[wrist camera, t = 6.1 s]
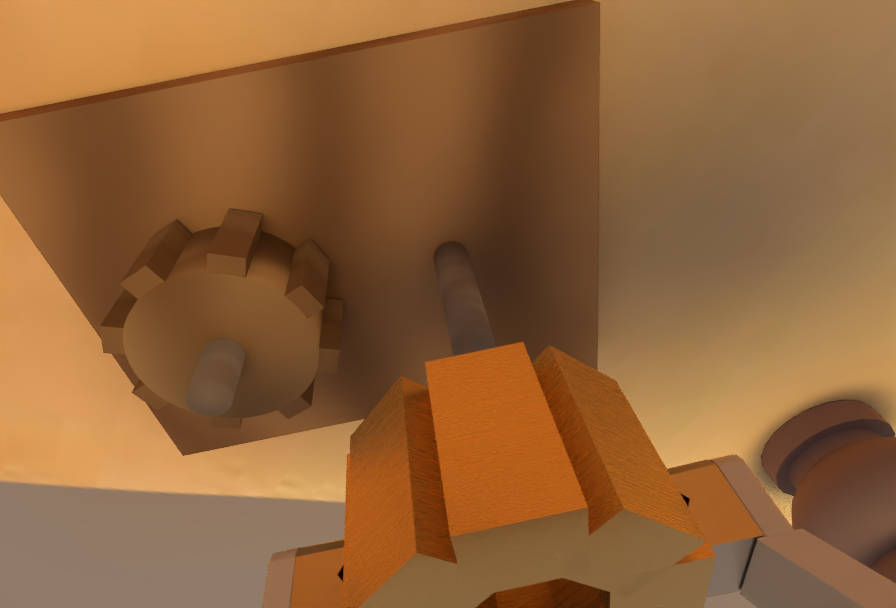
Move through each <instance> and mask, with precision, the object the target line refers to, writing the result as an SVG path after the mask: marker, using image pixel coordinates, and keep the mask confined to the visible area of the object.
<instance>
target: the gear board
mask: <svg viewBox="0 0 896 608" xmlns="http://www.w3.org/2000/svg"><path fill="white" fill-rule="evenodd" d="M599 53H600V3H599V2H596V1H593V0H574V1H569V2H564V3H559V4H554V5H549V6H544V7H538V8H533V9H528V10H523V11H518V12H513V13H508V14H503V15H498V16H493V17H488V18H483V19H478V20H473V21H468V22H463V23H458V24H453V25H448V26H443V27H438V28H433V29H428V30H423V31H418V32H412V33H407V34H402V35H397V36H392V37H387V38H382V39H377V40H372V41H367V42H362V43H357V44H352V45H347V46H342V47H337V48H332V49H327V50H322V51H317V52H312V53H307V54H302V55H297V56H292V57H287V58H281V59H276V60H271V61H266V62H261V63H256V64H251V65H246V66H241V67H236V68H231V69H226V70H221V71H216V72H211V73H206V74H201V75H196V76H191V77H186V78H181V79H176V80H171V81H166V82H161V83H156V84H150V85H145V86H140V87H135V88H130V89H125V90H120V91H115V92H110V93H105V94H100V95H95V96H90V97H85V98H80V99H75V100H70V101H65V102H60V103H55V104H50V105H45V106H40V107H35V108H30V109H24V110H19V111H14V112H9V113H4V114H0V195H1V197H2V198H3V200H4V201H5V202H6V204H7V205H8V207H9V208H10V210H11V211H12V212H13V214H14V215H15V217H16V218H17V220H18V221H19V222H20V224H21V225H22V227H23V228H24V230H25V231H26V232H27V234H28V235H29V237H30V238H31V240H32V241H33V242H34V244H35V245H36V247H37V248H38V250H39V251H40V252H41V254H42V255H43V257H44V258H45V260H46V261H47V262H48V264H49V265H50V267H51V268H52V270H53V271H54V272H55V274H56V275H57V277H58V278H59V279H60V281H61V282H62V284H63V285H64V287H65V288H66V289H67V291H68V292H69V294H70V295H71V297H72V298H73V299H74V301H75V302H76V304H77V305H78V307H79V308H80V309H81V311H82V312H83V314H84V315H85V317H86V318H87V319H88V321H89V322H90V324H91V325H92V327H93V328H94V329H95V331H96V332H97V334H98V335H99V337H100V338H101V339H102V346H103V353H111V354H112V355H113V357H114V358H115V359H116V361H117V362H118V364H119V365H120V367H121V368H122V369H123V371H124V372H125V374H126V375H127V377H128V378H129V379H130V381H131V382H132V384H133V385H134V386H135V388H134V389H133V391H132V393H133V394H135V395H136V396H138V397H139V398H140V399H142V400H143V401H145V402H146V404H147V405H148V406H149V408H150V409H151V411H152V412H153V414H154V415H155V416H156V418H157V419H158V421H159V422H160V424H161V425H162V426H163V428H164V429H165V431H166V432H167V434H168V435H169V436H170V438H171V439H172V441H173V442H174V444H175V445H176V446H177V448H178V449H179V451H180V452H181V454H182V455H183V456H184V455H189V454H194V453H199V452H204V451H209V450H214V449H219V448H223V447H228V446H233V445H238V444H243V443H248V442H253V441H258V440H263V439H267V438H272V437H277V436H282V435H287V434H292V433H297V432H302V431H307V430H311V429H316V428H321V427H326V426H331V425H336V424H341V423H346V422H351V421H355V420H360V419H365V418H366V417H367V416H368V415H369V414H370V413H371V411H372V410H373V409H374V408H375V407H376V405H377V404H378V403H379V402H380V401H381V399H382V398H383V397H384V396H385V395H386V393H387V392H388V391H389V390H390V389H391V387H392V386H393V385H394V384H395V383H396V381H397V380H398V379H399V378H400V377H401V376H403V377H406V378H408V379H410V380H412V381H415V382H417V383H419V384H422V385H424V386H426V387H428V380H427V373H426V366H425V362H428V361H433V360H438V359H443V358H448V357H452V356H457V355H462V354H467V353H472V352H476V351H481V350H486V349H491V348H496V347H500V346H505V345H510V344H515V343H520V342H523V343H524V345H525V348H526V350H527V353H528V355H529V358H530V361H531V363H532V362H533V361H534V360H535V359H536V358H537V357H538V356H539V355H540V354H541V353H542V352H543V351H544V350H545V349H546V348H547V347H548V346H549V345H551V346H553V347H555V348H556V349H558V350H560V351H562V352H564V353H566V354H567V355H569V356H571V357H573V358H575V359H577V360H579V361H580V362H582V363H584V364H586V365H588V366H590V367H591V368H593V369H595V370H597V347H598V200H599ZM428 388H429V387H428Z"/></svg>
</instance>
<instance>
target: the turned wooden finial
mask: <svg viewBox="0 0 896 608" xmlns="http://www.w3.org/2000/svg"><path fill="white" fill-rule="evenodd" d="M894 436H895V433H894V431H893V429H892V428H891V426H890V424H888V423H887V422H886V421H885V420H884V419H883V418H882V417H881V416H880V415H879V414H878V413H877V412H876V411H875V410H874V409H873V408H872V407H871V406H869V405H867V404H865V403H863V402H861V401H853V400H841V401H835V402H829V403H825V404H822V405H819V406H817V407H814V408H811V409H809V410H806V411H804V412H803V413H801V414H799V415H798V416H796V417H794V418H792V419H791V420H789V421H788V422H787V423H785V424H784V425H783V426H782V427H781V428H779V429H778V430H777V431H776V432H775V433H774V434H773V435H772V437H771V438H770V439H769V441H768V442H767V443H766V445H765V447H764V450H763V453H762V456H761V458H762V465H763V467H764V468H765V470H766V471H767V473H768V474H769V475H770V477H771V478H772V479H773V481H774V482H775V483H776V485H777V486H778V487H779V488H780V489H781V490H782V491H783V492H784V493H787V494H789V495H792V496H794V498H793V501H792V527H793V529H794V530H796V529H804V530H806V531H807V532H809V533H811V534H812V535H814V536H816V537H818V538H819V539H821V540H823V541H824V542H826V543H828V544H829V545H831V546H833V547H835V548H836V549H838V550H840V551H841V552H843V553H845V554H846V555H848V556H850V557H852V558H853V559H855V560H857V561H858V562H860V563H862V564H863V565H865V566H867V567H868V568H870V569H872V570H874V571H875V572H877V573H879V574H880V575H882V576H884V577H885V578H887V579H889V580H891V581H892V582H894V583H896V437H894Z"/></svg>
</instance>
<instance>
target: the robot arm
mask: <svg viewBox="0 0 896 608" xmlns="http://www.w3.org/2000/svg"><path fill="white" fill-rule="evenodd" d="M667 471H668V472H669V474H670V476H671V478H672V479H673V481H674V483H675V485H676V486H677V488H678V490H679V492H680V494H681V495H682V497H683V499H684V501H685V502H686V504H687V506H688V508H689V509H690V511H691V513H692V515H693V516H694V518H695V520H696V522H697V523H698V525H699V527H700V529H701V530H702V532H703V534H704V536H705V538H706V539H707V541H708V543H709V545H710V546H711V548H712V550H713V552H714V553H715V555H716V559H715V563H714V567H713V571H712V575H711V579H710V583H709V587H708V591H707V595H706V597H711V596H716V595H721V594H727V593H732V592H737V591H741V593H740V594H741V595H743V596H744V597H745V598H746V599H747V600H749V601H750V602H751V603H752V604H753V605H755V606H756V607H757V608H896V583H894V582H892V581H891V580H889V579H887V578H885V577H884V576H882V575H880V574H879V573H877V572H875V571H874V570H872V569H870V568H868V567H867V566H865V565H863V564H862V563H860V562H858V561H857V560H855V559H853V558H852V557H850V556H848V555H846V554H845V553H843V552H841V551H840V550H838V549H836V548H835V547H833V546H831V545H829V544H828V543H826V542H824V541H823V540H821V539H819V538H818V537H816V536H814V535H812V534H811V533H809V532H807V531H806V530H804V529H796V530H794V529H793V527H792V526H791V525H790V523H789V522H788V521H787V519H786V518H785V516H784V515H783V514H782V512H781V511H780V510H779V508H778V507H777V506H776V504H775V503H774V501H773V500H772V499H771V497H770V496H769V495H768V493H767V492H766V491H765V489H764V488H763V487H762V485H761V484H760V482H759V481H758V480H757V478H756V477H755V476H754V474H753V473H752V472H751V470H750V469H749V468H748V466H747V465H746V463H745V462H744V461H743V459H741V458H740V457H739V456H737V455H728V456H723V457H719V458H715V459H710V460H703V461H699V462H695V463H690V464H686V465H682V466H678V467H673V468H669V469H667ZM343 571H344V539H340V540H336V541H331V542H326V543H322V544H317V545H312V546H308V547H303V548H296V549H291V550H287V551H283V552H278V553H274V554H273V555H272V557H271V559H270V562H269V564H268V572H267V578H266V584H265V591H264V597H263V604H262V608H342V603H343Z"/></svg>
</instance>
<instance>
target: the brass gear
mask: <svg viewBox="0 0 896 608" xmlns="http://www.w3.org/2000/svg"><path fill="white" fill-rule="evenodd" d="M425 366H426V373H427V380H428V387H429V388H428V387H426V386H424V385H422V384H419V383H417V382H415V381H412V380H410V379H408V378H406V377H403V376H401V377H400V378H399V379H398V380H397V381H396V383H395V384H394V385H393V386H392V387H391V389H390V390H389V391H388V392H387V393H386V395H385V396H384V397H383V398H382V399H381V401H380V402H379V403H378V404H377V405H376V407H375V408H374V409H373V410H372V411H371V413H370V414H369V415H368V416H367V417H366V419H365V420H364V421H363V422H362V423H361V425H360V426H359V427H358V428H357V429H356V431H355V432H354V433H353V434H352V435H351V440H350V454H347V474H346V506H345V538H344V571H343V603H342V608H703V607H704V603H705V599H706V595H707V591H708V587H709V583H710V579H711V575H712V571H713V567H714V563H715V559H716V555H715V553H714V552H713V550H712V548H711V546H710V545H709V543H708V541H707V539H706V538H705V536H704V534H703V532H702V530H701V529H700V527H699V525H698V523H697V522H696V520H695V518H694V516H693V515H692V513H691V511H690V509H689V508H688V506H687V504H686V502H685V501H684V499H683V497H682V495H681V494H680V492H679V490H678V488H677V486H676V485H675V483H674V481H673V479H672V478H671V476H670V474H669V472H668V471H667V469H666V467H665V465H664V464H663V462H662V460H661V458H660V457H659V455H658V453H657V451H656V450H655V448H654V446H653V444H652V443H651V441H650V439H649V437H648V435H647V434H646V432H645V430H644V428H643V427H642V425H641V423H640V421H639V420H638V418H637V416H636V414H635V413H634V411H633V409H632V407H631V406H630V404H629V402H628V400H627V399H626V397H625V396H624V394H623V392H622V391H621V389H620V387H619V385H618V384H617V382H616V381H615V380H614V379H612V378H610V377H608V376H606V375H604V374H603V373H601V372H599V371H597V370H595V369H593V368H591V367H590V366H588V365H586V364H584V363H582V362H580V361H579V360H577V359H575V358H573V357H571V356H569V355H567V354H566V353H564V352H562V351H560V350H558V349H556V348H555V347H553V346H551V345H549V346H548V347H547V348H546V349H545V350H544V351H543V352H542V353H541V354H540V355H539V356H538V357H537V358H536V359H535V360H534V361H533V362H532V363H531V361H530V358H529V355H528V353H527V350H526V348H525V345H524V343H523V342H520V343H515V344H510V345H505V346H500V347H496V348H491V349H486V350H481V351H476V352H472V353H467V354H462V355H457V356H452V357H448V358H443V359H438V360H433V361H428V362H425Z"/></svg>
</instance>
